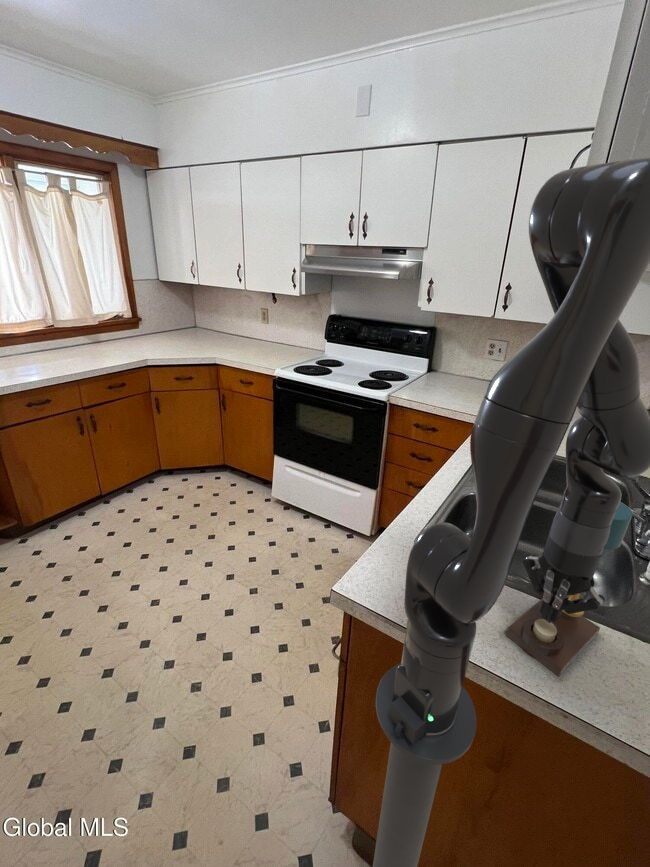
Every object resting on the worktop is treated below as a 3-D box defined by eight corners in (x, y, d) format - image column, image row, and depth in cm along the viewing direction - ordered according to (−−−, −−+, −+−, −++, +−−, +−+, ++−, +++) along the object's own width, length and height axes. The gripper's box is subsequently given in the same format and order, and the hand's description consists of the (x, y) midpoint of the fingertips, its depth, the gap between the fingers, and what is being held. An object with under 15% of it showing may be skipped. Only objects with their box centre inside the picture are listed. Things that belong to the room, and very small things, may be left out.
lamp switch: (547, 646, 73) (550, 639, 72) (528, 632, 76) (530, 625, 75) (558, 636, 75) (561, 629, 74) (539, 622, 78) (541, 615, 77)
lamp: (580, 629, 76) (621, 525, 66) (542, 604, 81) (575, 503, 71) (598, 611, 80) (640, 510, 70) (561, 588, 85) (595, 490, 75)
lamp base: (556, 679, 71) (562, 663, 70) (503, 637, 79) (507, 622, 77) (596, 635, 79) (603, 620, 78) (545, 601, 87) (550, 586, 85)
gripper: (523, 524, 69) (501, 603, 76) (611, 573, 59) (576, 657, 67) (547, 509, 73) (524, 585, 80) (633, 552, 63) (598, 634, 71)
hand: (548, 618), depth 73 cm, fingers closed
